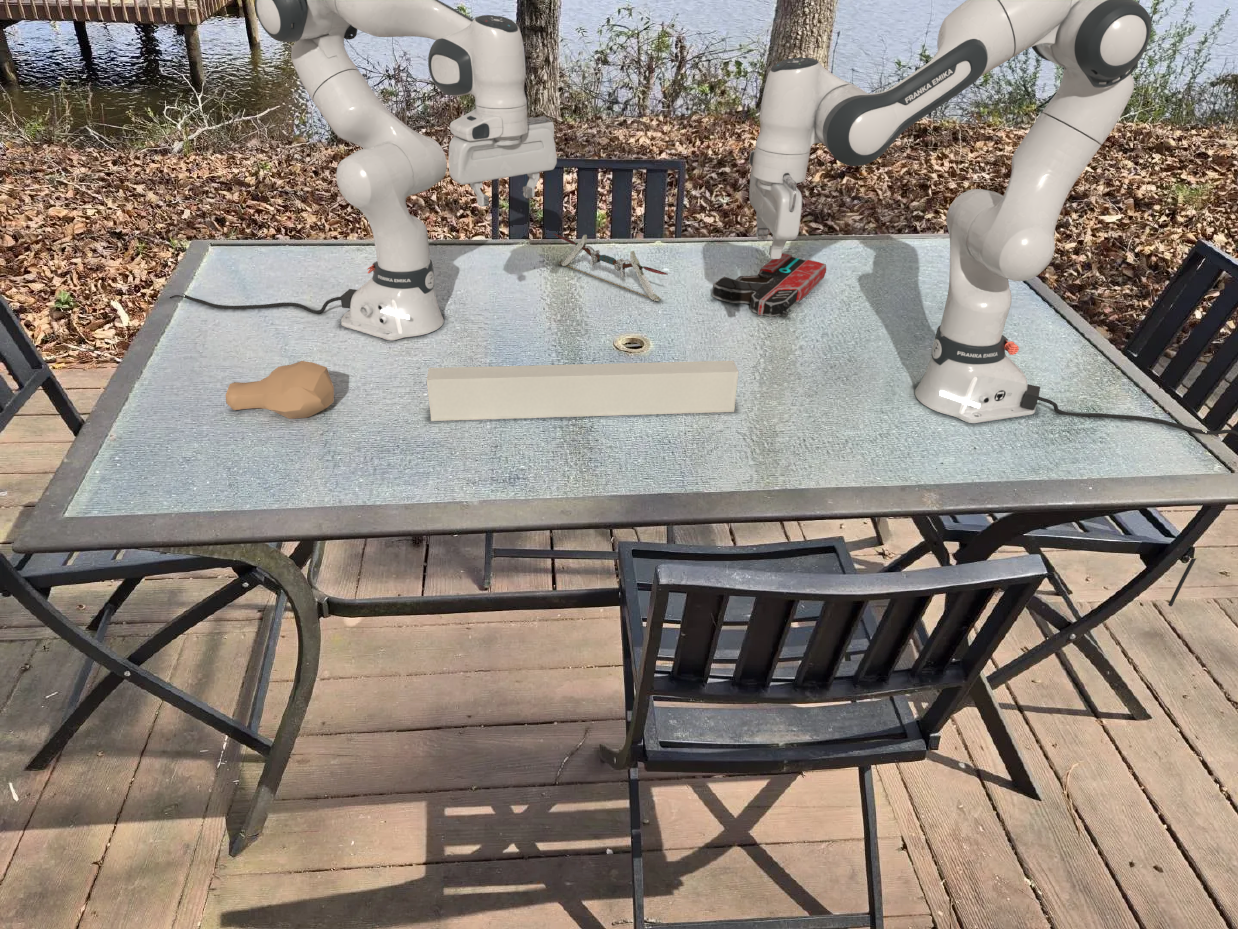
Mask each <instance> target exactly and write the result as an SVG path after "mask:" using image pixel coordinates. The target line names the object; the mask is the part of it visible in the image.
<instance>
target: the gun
mask: <svg viewBox="0 0 1238 929" xmlns="http://www.w3.org/2000/svg"><path fill="white" fill-rule="evenodd" d="M826 273H827V264H826V263H823V262H820V261H816V260H812V259H802V258H799V257H795V256H793V255H792V254H791V253H784V252H782V255H781V258H780V259H772V258H771V259H770V260H768V261H767V262H766V263H765V264H763V265H762V266H761V267H760V269H759V271H758V273H757V274H756V275H753V274H752V275H751V274H750V275H740V276H738V277H737V278H735V279H734V278H731V277H727V276H722V277H720V279H717V281H715V282H713V283H712V291H711V297H713V298H714V299H716V300H719V301H723V302H727V303H730V304H750V305H749V308H750V310H751V312H753V313H755V314H757V315H758V316H760V317H761V316H765V317H770V318H771V317H777V316H780V317H784V318H787V317H788V315H789V311H788V310H790V309H791V308H792V307H793V306H794V305H795V304H798V303H799V302H801V301H802V300H803V299H804V298H805V297H807V296H808V295H809V294H810V293H811V292H812V291H813V290H814V289H815V287H817V285H818V284H820V283H821V282H822V280H823V279H824V278H825V276H826Z"/></svg>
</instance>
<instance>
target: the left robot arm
mask: <svg viewBox="0 0 1238 929" xmlns="http://www.w3.org/2000/svg"><path fill="white" fill-rule="evenodd" d="M254 7H255V9H254V10H255V13H256V17H257V20H258V21H259V23H260V26H261V27H262V29H263V30H264V31H265V32H266V34H267V35H268V36H269V37H271V38H272V39H273V40H275V41H277V42H283V43H293V45H292V48H291V52H290V58H291V61H292V64H293V67H294V69H295V71H296V74H297V76H298V78H299V80H300V82H301V83H302V86H303V87H304V89H305V91H306V92H307V94H308V96H309V98H310V99H311V100H312V101H313V103H314V105H315V106H316V108H317V109H318V110H319V112H320V114H321V115H322V116H323V118H324V120H325V121H326V123H327V124H328V125H329V127H330V129H331V130H332V132H334V134H335V135H336V136H337V137H338V138H340V139H341V140H344V141H346V142H348V143H352V144H355V145H357V146H359V147H360V148H362V149H357V150H356V151H354V152H353V153H351V154H350V155H348V156H346V157H345V158H343V159H342V160H341V161H340V162H339V163H338V165H337V167H336V173H335V179H336V180H335V181H336V185H337V188H338V191H339V193H340V194H341V196H342V197H343V198H344V200H345V201H346V202H348V204H350V205H351V206H353V207H354V208H356V209H358V210H359V211H360V212H361V213H362V214H363V215H364V217H365V218H366V220H367V223H368V224H369V226H370V229H371V232H372V236H373V243H374V248H375V253H376V254H375V255H376V261H374V262H373V263H372V265H371V266H369V267H368V268H367V274H370V273H372V277H371V278H370V279H369V280H367V282H365V283H364V284H363V285H362V286H360V287H359V288H358V289H355V288H348V290H346V291H345V292H343V294H342V295H340V296H335V297H332V298H330V299H327V300H326V301H325V302H324V303H323V305H322V307H321V308H320V309H318V310H316V309H312V308H310V307H308V306H306V305H304V304H301V303H299V302H273V303H266V304H264V303H263V304H248V305H247V304H245V305H226V304H225V305H223V304H217V303H213V302H209V301H207V300H203V299H200V298H196V297H192V296H190V295H188V294H185V293H183V294H184V295H185V297H182V296H180V297H181V298H184V299H185V300H189V301H192V302H196V303H200V304H203V305H205V306H208V307H211V308H216V309H224V310H248V309H249V310H251V309H253V310H254V309H267V308H277V307H296V308H300V309H303V310H305V311H307V312H309V313H311V314H314V315H320V314H323V313H324V312H325V310H326V309H327V307H328V305H329V304H331V303H333V302H338V301H340V304H341V308H342V309H349V310H347V311H346V313H344V314H343V316H342V317H341V320H340V324H341V326H342V327H344V328H347V329H350V330H354V331H357V332H360V333H364V334H367V335H370V336H373V337H377V338H380V339H383V340H387V341H396V340H397V341H398V340H401V339H404V338H412V337H420V336H423V335H427V334H430V333H431V334H432V333H434V332H436V331H437V330H439V329H441V327H442V326H443V325H444V323H445V320H444V317H443V314H442V312H441V310H440V307H439V303H438V300H437V296H436V291H435V271H434V264H433V260H432V259H431V253H430V243H429V232H428V228H427V226H426V224H425V223H424V222H423V221H422V220H421V219H420V218H419V217H417V216H415V215H412V214H410V212H409V209H408V206H407V197H410V196H414V195H416V194H419V193H422V192H425V191H428V190H429V189H432V188H433V187H434V186H436V185H437V184H438V183H440V182H441V181H442V180H443V179H444V178H445V176H446V174H447V169H448V172H449V177H450V179H452V180H453V181H454V182H456V183H457V184H458V185H462V186H463V185H469V186H470V189H471V190H472V192H474V194H475V195H476V203H477V205H478V206H479V207H480V208H482V207H487V206H489V205H490V202H489V201H490V197H489V195H487V194H486V193H483V191H482V190H481V189H483V186H484V185H483V182H488V181H494V180H500V179H506V178H510V177H511V178H512V177H519V176H523V175H524V176H525V175H526V176H527V177H528V181H527V183H526V185H525V186H522V191H523V192H522V196H523V197H524V198H526V199H531V198H535V195H536V194H535V192H536V190H535V188H536V186H537V185H538V181H540V178H541V177H540V173H543V172H548V171H553V170H554V169H555V168H556V166H557V164H558V157H557V156H558V155H557V148H556V142H555V137H554V136H555V125H554V124H555V123H554V122H553V121H552V120H551V118H549V117H547V116H546V115H541V116H536V117H528V101H527V97H526V92H525V82H526V77H527V73H526V71H527V70H526V69H527V68H526V54H525V47H524V46H525V45H524V40H523V36H522V32H521V29H520V27H519V25H518V24H517V23H516V22H515V21H514V20H512V19H510V18H507V17H505V16H501V15H493V14H483V15H479V16H476V17H475V18H474V19H473V18H471V17H470V16H468V15H466V14H464V13H463V12H461V11H459V10H457V9H455V8H453V7H452V6H450V5H449V4H447V3H445V2H443V1H441V0H254ZM358 31H360V32H362V33H365V34H368V35H370V36H373V37H378V38H400V37H404V38H405V37H415V38H416V37H417V38H425V39H431V40H434V42H433V43H432V45H431V46H430V49H429V52H428V58H427V65H428V71H429V72H428V73H429V76H430V78H431V80H432V82H433V84H434V85H435V86H436V88H437V89H438V90H439V91H440V92H441V93H443V94H444V95H446V96H451V97H452V96H453V97H462V96H468V95H472V96H473V98H474V105H475V108H474V109H473V110H471V111H469V112H468V113H465V114H464V115H462V116H460V117H458V118H456V119H454V120H452V121H451V122H450V124H449V130H450V133H451V134H452V135H453V137H452V138H451V139H450V142H449V144H448V160H447V157H446V153H445V151H444V149H443V147H442V146H441V145H440V143H439V142H438V141H436V140H435V139H434V138H433V137H429V136H427V135H424V134H422V133H419V132H417V131H415V129H413V128H411V127H410V126H408V125H406V123H404V122H403V121H402V120H401V119H399V118H398V117H397V116H395V115H394V113H392V112H391V111H390V110H389V109H388V108H387V107H386V105H384V104H383V102H382V101H381V100H380V98H379V96H377V95H376V93H375V91H374V90H373V88H372V87H371V86H370V84H369V83H368V82H367V80H366V79H365V78H364V76H363V75H362V73H361V71H360V70H359V69H358V67H357V66H356V64H355V63H354V61H353V60H352V59H351V57H350V56H349V54H348V52H347V50H346V48H345V40H349V41H350V40H353V39H355V38H356V36H357V34H358Z"/></svg>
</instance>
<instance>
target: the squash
mask: <svg viewBox="0 0 1238 929" xmlns="http://www.w3.org/2000/svg"><path fill="white" fill-rule="evenodd" d="M334 398H335V386H334V384H333V381H332V378H331V374H330V372H329V369H328V367H327V366H324V365H321V364H318V363H315V362H312V361H307V360H306V361H305V360H300V361H297V362H295V363H291V364H286V365H281V366H277V367H276V368H275V369H274V370H272V371H271V372H270V373H269V375H268V376H266V377H264V378H263V379H261V380H256V381H248V382H241V381H240V382H237V381H236V382H235V381H234V382H232V383H229V384H228V387H227V390H226V393H225V404H227V405H228V406H229V408H231V409H232V411H239V410H245V409H246V410H248V409H249V410H250V409H263V410H269V411H271V412H274V413H275V414H278V415H280V416H282V417H285V418H287V419H288V420H292V419H308V418H310V417H312V416H314V415H316V414H318V413H320V412H322V411H324V410H326V409H328V408H329V407H330V406H331V405H332V404H334V402H335V400H334Z"/></svg>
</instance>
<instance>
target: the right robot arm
mask: <svg viewBox="0 0 1238 929" xmlns="http://www.w3.org/2000/svg"><path fill="white" fill-rule="evenodd" d="M1151 34H1152V19H1151V16H1150V13H1149V12H1148V10H1146V9H1145V7H1144V6H1143V5H1142V4H1140V3H1139V2H1137V1H1135V0H965V1H964V2H962V3H960V4H959V5H958V6H957V7H955V9H953V10H952V11H951V12H950V13H949V14H948V15H947V16H946V17H945V18H944V19H943V21H942V23H941V25H940V27H939V30H938V34H937V39H936V40H937V41H936V42H937V44H936V45H937V52H936V53H935V55H934V56H933V57H932V58H931V59H930V60H929V61H928V62H927V63H926V64H924V65H923V66H921V67H920V68H918V69H917V70H915V71H914V72H912V73H910V74H909V75H908V76H906V77H905V78H903V79H902V80H900V81H898V82H897V83H896V84H894V85H893V86H892V87H890V88H888V89H886V90H884V91H880V92H874V93H873V92H872V93H871V92H870V93H868V92H867V91H865V90H864V89H862V88H861V87H859V86H857V85H855V84H854V83H851V82H849V81H847V80H844V79H843V78H840V77H838V76H837V75H835V74H834V73H832V72H831V71H830V70H828V69H827V68H825V67H824V65H822V64H821V62H820V61H819V60H818V59H816V58H813V57H800V56H799V57H791V58H786V59H783V60H781V61H779V62H776V64H774V65H773V66H772V67H771V69H770V70H769V72H768V74H767V77H766V81H765V85H764V88H763V93H762V98H761V104H760V111H759V125H760V126H759V133H758V136H757V139H756V142H755V146H754V149H753V150H750V153H749V159H748V162H749V165H750V166H751V167H750V175H749V176H750V177H749V190H748V197H749V204H750V205H751V206H752V208H753V209H754V212H756V214H755V220H756V230H755V236H756V238H757V239H758V240H759V241H761V240H764V241H765V240H767V239H768V237H769V232H770V233H771V234H772V238H771V239H772V241H771V245H770V246H769V251H768V255H769V257H770V258H771V259H780V258H781V255H782V253H783V249H784V248H785V245H786V244H787V241H795V240H796V239H797V238H798V236H799V233H800V225H801V220H802V219H801V217H802V209H803V195H802V192H801V190H799V188H798V187H797V184H800V183H803V182H805V180H806V177H807V172H808V166H809V160H810V154H811V148H812V146H813V145H815V144H822V145H823V146H825V147H826V148H827V150H828V151H829V152H830V154H831V156H832V157H833V158H834V159H835V160H836V161H838V162H839V163H841V164H843V165H846V166H848V167H849V166H850V167H860V166H865V165H868V164H870V163H873V162H874V161H876V160H877V159H879V158H880V157H881V156H883V155H884V153H886V151H887V150H888V149H889V148H890V147H891V146H892V145H893V144H894V142H895V141H896V140H897V139H898V138H899V137H900V136H901V135H902V134H903V133H904V132H905V131H906V130H908V129H909V128H910V127H912V126H913V125H914V124H916V123H917V122H919V121H920V120H922V119H924V118H925V117H926V116H928V115H929V114H931V113H932V112H934V111H935V110H937V109H939V107H941V106H943V105H945V104H946V103H948V102H949V101H950V100H952V99H953V98H955V97H956V96H958V95H959V94H960V93H962V92H963V91H965V90H966V89H967V88H969V87H971V85H972V84H974V83H975V82H976V81H977V80H979V79H980V78H981V77H982V76H984V75H986V74H988V73H989V72H991V71H992V70H994V69H996V68H997V67H999V66H1001V65H1003V64H1004V63H1006V62H1007V61H1009V60H1011V59H1013V58H1014V57H1017V56H1018V55H1019V54H1021V53H1023V52H1024V51H1025V50H1027V49H1030V48H1031V49H1032V50H1033V52H1034V53H1035V54H1036V55H1038V57H1040V58H1041V59H1043V60H1045V61H1048V62H1050V63H1052V64H1055V65H1057V66H1059V67H1061V68H1063V73H1062V79H1061V82H1060V85H1059V87H1058V89H1057V91H1056V92H1055V94H1054V95H1053V97H1052V98H1051V99H1050V101H1049V102H1048V104H1047V105H1046V106H1045V107H1044V109H1043V110H1042V111H1041V113H1040V114H1039V116H1038V117H1037V118H1036V120H1035V122H1034V123H1033V125H1032V126H1031V127H1030V129H1029V130H1028V132H1027V133H1026V135H1025V137H1024V138H1023V139H1022V140H1021V142H1020V144H1019V145H1018V146H1017V148H1016V149H1015V151H1014V152H1013V155H1012V156H1011V173H1010V177H1009V180H1008V184H1007V186H1006V189H1005V191H1004V194H1003V195H1002V194H1001V193H999V192H996V191H992V190H987V189H981V188H974V189H973V188H972V189H969V190H966V191H964V192H963V193H961V194H960V195H958V196H957V197H956V198H955V199H954V200H953V201H952V203H951V204H950V205H949V208H948V210H947V213H946V217H945V223H946V227H947V228H946V229H947V231H948V237H949V282H948V290H947V295H946V300H945V305H944V309H943V314H942V317H941V321H940V325H939V326H938V327H937V328H936V332H935V334H934V338H933V342H932V347H931V355H930V356H931V357H930V359H929V362H928V365H927V367H926V370H925V372H924V374H923V376H922V378H921V379H920V382H919V383H918V385H917V386H916V387H915V390H914V395H915V397H916V399H917V400H918V401H919V403H921V404H922V405H923V406H925V407H927V408H928V409H930V410H933V411H935V412H937V413H940V414H943V415H947V416H950V417H953V418H957V419H959V420H961V421H963V422H966V423H968V424H978V423H985V422H991V421H997V420H1005V419H1011V418H1019V417H1025V416H1031V415H1035V413H1036V409H1037V408H1036V406H1037V403H1038V401H1040V402H1042V403H1046V404H1049V405H1051V406H1052V407H1053V410H1054V412H1056V413H1057V414H1059V415H1063V416H1072V417H1073V416H1074V417H1082V418H1106V419H1107V418H1108V419H1122V420H1136V421H1145V422H1153V423H1157V424H1162V425H1166V426H1169V427H1174V428H1177V429H1181V430H1184V431H1187V432H1188V431H1189V432H1192V433H1197V434H1202V435H1208V434H1209V435H1211V436H1215V435H1224V434H1232V435H1234V436H1235V437H1236V438H1238V431H1237V430H1234V429H1219V430H1208V429H1207V430H1206V429H1205V430H1206V431H1207V434H1205V432H1203V431H1202V430H1203V429H1200V428H1196V427H1192V426H1188V425H1184V424H1182V423H1181V424H1180V423H1176V422H1173V421H1168V420H1165V419H1161V418H1155V417H1150V416H1141V415H1129V414H1116V413H1115V414H1113V413H1103V412H1101V413H1100V412H1095V413H1094V412H1086V413H1084V412H1083V413H1081V412H1068V411H1064V410H1061V409H1059V405H1058V404H1057V403H1056V402H1055V401H1053V400H1051V399H1049V398H1045V397H1042V396H1040V393H1041V392H1040V391H1041V386H1038V385H1034V384H1029V383H1028V379H1027V376H1026V374H1025V373H1024V371H1023V370H1022V369H1021V368H1020V367H1019V366H1018V365H1017V364H1016V363H1015V362H1014V361H1013V360H1012V359H1011V358H1010V357H1009V356H1008V355H1011V356H1014V355H1016V354H1017V353H1018V352H1019V351H1020V346H1018V345H1017V344H1016V343H1015V342H1014V341H1009V338H1007V337H1006V336H1005V335H1004V334H1003V333H1004V330H1005V326H1006V323H1007V319H1008V316H1009V312H1010V309H1011V306H1012V298H1013V297H1012V291H1011V288H1010V283H1009V282H1010V281H1012V282H1024V281H1028V280H1032V279H1033V278H1035V277H1037V276H1038V275H1040V274H1041V273H1043V271H1044V270H1045V269H1047V267H1048V266H1049V265H1050V263H1051V261H1052V259H1053V257H1054V254H1055V248H1056V244H1055V243H1056V242H1055V231H1056V227H1057V223H1058V220H1059V218H1060V215H1061V212H1062V210H1063V207H1064V204H1065V203H1066V200H1067V198H1068V196H1069V194H1070V192H1071V190H1072V188H1073V187H1074V185H1075V183H1076V182H1077V181H1078V179H1079V178H1080V176H1081V175H1082V173H1083V172H1084V170H1085V169H1086V168H1087V166H1088V165H1089V163H1090V162H1091V160H1092V159H1093V158H1094V156H1095V155H1096V154H1097V152H1098V151H1099V149H1100V148H1101V147H1102V145H1103V144H1104V143H1105V141H1106V140H1107V138H1108V137H1109V136H1110V134H1111V132H1112V131H1113V130H1114V128H1115V126H1116V125H1117V123H1118V121H1119V120H1120V118H1121V116H1122V115H1123V112H1124V111H1125V109H1126V107H1127V105H1128V103H1129V101H1130V99H1131V97H1132V95H1133V92H1134V88H1135V81H1134V78H1133V76H1132V73H1133V72H1134V71H1135V70H1136V69H1137V67H1138V65H1139V61H1140V60H1141V58H1143V55H1144V53H1145V51H1146V49H1147V48H1148V45H1149V42H1150V38H1151ZM1009 280H1010V281H1009ZM1006 352H1007V353H1008V355H1007V354H1006ZM1209 435H1208V436H1209ZM1196 560H1197V558H1191V559H1190V560H1189V563H1188V564H1187V566H1186V569H1185V571H1184V572H1183V574H1182V576H1181V577H1180V580H1179V582H1178V584H1177V586H1176V588H1175V590H1174V592H1173V594H1172V596H1171V598H1170V600H1169V602H1168V604H1167V605H1168V606H1169V607H1173V606H1174V604H1175V601H1176V599H1177V597H1178V595H1179V593H1180V591H1181V589H1182V587H1183V585H1184V583H1185V581H1186V579H1187V577H1188V575H1189V573H1190V571H1191V570H1192V568H1193V566H1194V564H1195V562H1196Z"/></svg>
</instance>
